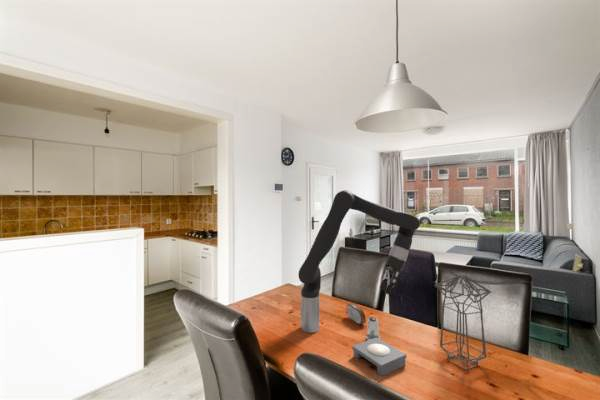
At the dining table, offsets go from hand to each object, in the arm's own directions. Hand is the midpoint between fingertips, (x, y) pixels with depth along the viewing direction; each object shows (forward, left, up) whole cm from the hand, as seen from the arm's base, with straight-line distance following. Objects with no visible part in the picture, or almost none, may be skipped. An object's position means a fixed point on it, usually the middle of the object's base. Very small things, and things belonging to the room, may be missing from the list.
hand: (384, 291), depth 119 cm
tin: (-28, +8, -25) cm, 39 cm away
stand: (+5, -9, -25) cm, 27 cm away
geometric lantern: (+23, +20, -25) cm, 39 cm away
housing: (-9, +2, -25) cm, 27 cm away
